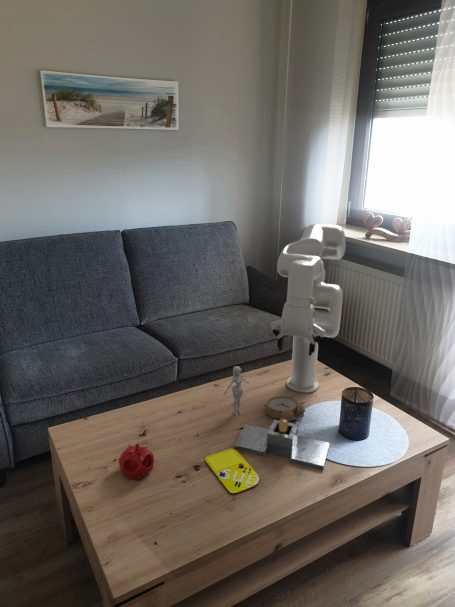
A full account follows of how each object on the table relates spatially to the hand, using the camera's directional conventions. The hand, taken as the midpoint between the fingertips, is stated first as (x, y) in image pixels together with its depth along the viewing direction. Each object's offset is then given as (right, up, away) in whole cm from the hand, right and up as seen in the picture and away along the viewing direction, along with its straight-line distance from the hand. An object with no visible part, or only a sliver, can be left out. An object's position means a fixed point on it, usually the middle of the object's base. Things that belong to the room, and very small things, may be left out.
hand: (295, 351), depth 153 cm
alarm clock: (-1, -24, +18) cm, 30 cm away
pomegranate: (-48, -34, -12) cm, 60 cm away
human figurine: (-19, -24, +18) cm, 35 cm away
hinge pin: (-5, -30, -1) cm, 31 cm away
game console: (-20, -35, -11) cm, 42 cm away
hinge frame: (-5, -30, -1) cm, 31 cm away
